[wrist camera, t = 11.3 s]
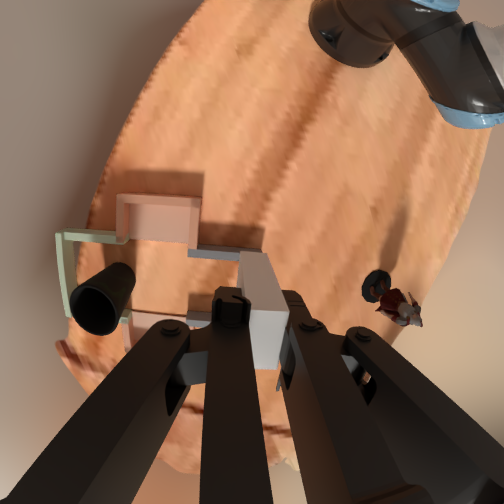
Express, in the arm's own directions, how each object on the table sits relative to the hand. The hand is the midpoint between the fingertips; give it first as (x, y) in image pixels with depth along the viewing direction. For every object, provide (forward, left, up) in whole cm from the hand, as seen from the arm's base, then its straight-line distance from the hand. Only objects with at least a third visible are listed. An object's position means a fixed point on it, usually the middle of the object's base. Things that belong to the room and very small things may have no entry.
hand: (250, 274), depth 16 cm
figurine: (-28, +11, -27) cm, 40 cm away
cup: (+18, +13, -27) cm, 35 cm away
